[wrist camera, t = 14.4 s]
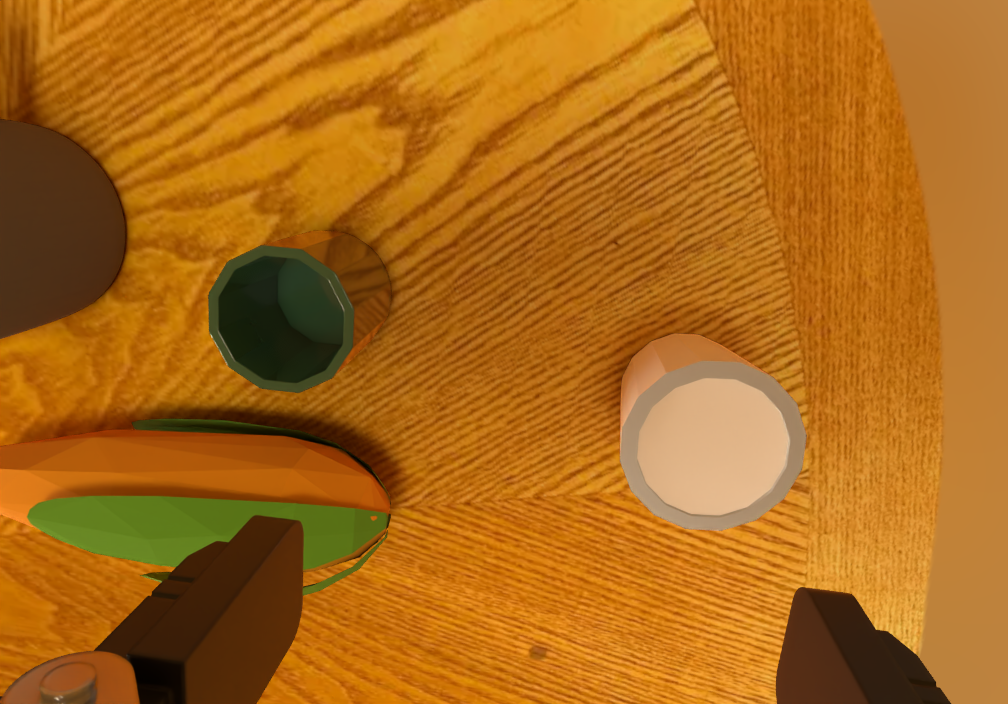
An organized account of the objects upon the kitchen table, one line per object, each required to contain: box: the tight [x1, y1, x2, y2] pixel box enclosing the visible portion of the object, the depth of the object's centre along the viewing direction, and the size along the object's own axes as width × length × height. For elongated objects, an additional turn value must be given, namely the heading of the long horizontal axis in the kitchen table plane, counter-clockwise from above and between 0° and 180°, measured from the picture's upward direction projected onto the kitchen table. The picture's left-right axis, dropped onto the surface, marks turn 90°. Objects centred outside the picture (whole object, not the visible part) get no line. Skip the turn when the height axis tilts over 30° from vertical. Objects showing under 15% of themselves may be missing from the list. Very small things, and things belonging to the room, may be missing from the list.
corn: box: [0, 419, 391, 596], centre depth 33 cm, size 7×8×20 cm
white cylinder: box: [620, 333, 807, 531], centre depth 30 cm, size 7×7×7 cm
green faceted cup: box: [208, 230, 391, 393], centre depth 30 cm, size 6×6×6 cm
